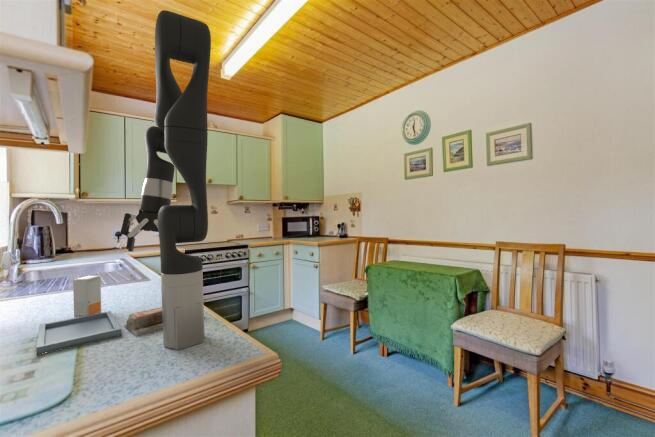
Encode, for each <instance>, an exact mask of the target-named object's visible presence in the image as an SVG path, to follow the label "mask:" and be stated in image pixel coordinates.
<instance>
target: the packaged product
mask: <svg viewBox="0 0 655 437" xmlns="http://www.w3.org/2000/svg"><path fill="white" fill-rule="evenodd" d="M123 327H124V328H125V329H126V330H128V331H129V332H131V333H132V335H134V336H136V337H137V336H141V335H144V334H148V333H152V332H156V331H160V330H163V322H162V306H161V307H155V308H151V309H146V310H142V311H137V312H132V313H130V314H129V315H128V318H127V320H126V324H124V325H123Z"/></svg>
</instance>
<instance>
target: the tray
mask: <svg viewBox="0 0 655 437" xmlns="http://www.w3.org/2000/svg"><path fill="white" fill-rule="evenodd" d="M121 336H122V328H121V326H120V324H119V323H118V321H117V319H116V317H115V316H114V314H113V313H112V311H111V310H108V311H104V312H101V313H98V314H92V315H87V316H82V317H76V318H74V317H72V318H67V319H61V320H56V321H50V322H45V323H44V322H43V323H39V327H38V334H37V341H36V356H40V355H39V354H41V355H43V354H42V353H45V352H50V353H52V352H51V351H54V352H57V351H56V350H58V351H61V350H60V349H63V350H66V349H65V348H67V349H71V348H75V347H79V346H85V345H87V344H92V343H97V342H101V341H104V340H105V341H106V340H109V339H114V338H117V337H121ZM70 347H71V348H70Z"/></svg>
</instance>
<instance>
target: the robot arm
mask: <svg viewBox="0 0 655 437" xmlns="http://www.w3.org/2000/svg"><path fill="white" fill-rule="evenodd" d="M211 49H212V37H211V31H210V28H209V26H208V25H207V23H206V22H204V21H201V20H198V19H195V18H191V17H190V16H186V15H183V14H180V13H177V12H173V11H169V10H165V9H163V10H160V12H159V13H158V14H157V16H156V21H155V30H154V58H155V59H154V60H155V61H154V62H155V63H154V67H155V85H156V96H155V98H156V99H155V106H154V107H155V108H154V116H153V117H154V120H153V121H154V123H155V125H153V126H149V127H148V128H147V129H146V130H145V133H144V142H145V149H146V157H147V165H146V173H145V177H144V178H145V179H144V182H143V185H142V190H141V197H140V201H139V202H140V204H139V209H138V213H137V214H131V213H128V212H126V213H124V216H123V217H124V218H123V220H122V225H121V229H120V234H121V235H122V236H126V237H127V240H126V246H125V247H126V250H128V252H134V249H135V242H136V238H135V237H137V235H138V234H140V233H141V232H143V231H144V232H145V231H146V232H154V233H158V238H159V239H158V240H159V241H158V242H159V251H160V252H159V254H160V256H159V257H160V282H161V284H160V285H161V288H160V289H161V307H162V322H163V329H162V342H163V346H164V347H165V348H167V349H175V350H176V351H177V350H181V349H185V348H188V347H192V346H195V345H199V344H202V343H205V342H204V341H205V340H204V339H205V337H206V336H205V313H204V312H205V310H204V308H205V306H204V304H205V303H204V278H203V276H204V274H203V260H202V258H201V257H200V256H196V255H191V254H187V253H184V252H182V251H180V250H178V248H177V246H176V244H186V243H200V242H203V241H205V239H206V238H207V235H208V231H209V230H208V229H209V214H208V196H207V195H208V194H207V193H208V192H207V159H208V158H207V157H208V133H209V132H208V89H209V88H208V87H209V75H210V63H211V51H212V50H211ZM171 60H173V61H174V60H175V61H177V62H183V63H187V64H190V65H192V74H191V78H190V79H189V82H188V84H187V85H186V86H185V87H186V88H185V89H184V91H182V90H181V88H180V85H179V84H178V82H177V80H176V78H175V76H174V74H173V71H172V68H171ZM158 153H161V154H165V155H166V154H167V156H168V158H169V159H170V161H171V162H170V161H168V160H167V159H164V158H162V157H160V156H159V154H158ZM175 170H177V171H178V173H179V175H180V176H181V177H182V179H183V180H184V183H185V185H186V187H187V188H188V190H189V194H190V199H191V200H190V201H191V204H190V205H189V204H186V205H184V204H183V205H181V204H179V205H177V204H175V205H173V204H171V203H172V198H173V183H174V177H175ZM135 220H136V222H137V223H138V224H137V225H136V226H135V227H134V228H133V229H132V230H131V231H130V227H131V223H132V222H134V221H135Z"/></svg>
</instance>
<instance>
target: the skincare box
mask: <svg viewBox="0 0 655 437" xmlns="http://www.w3.org/2000/svg"><path fill="white" fill-rule="evenodd" d="M72 280H73V281H72V287H73V288H72V290H73V291H72V292H73V318H76V317H82V316H87V315H92V314H98V313H102V288H101V283H102V282H101V281H102V280H101V275H86V276H81V277H79V278H75V279H72Z"/></svg>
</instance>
